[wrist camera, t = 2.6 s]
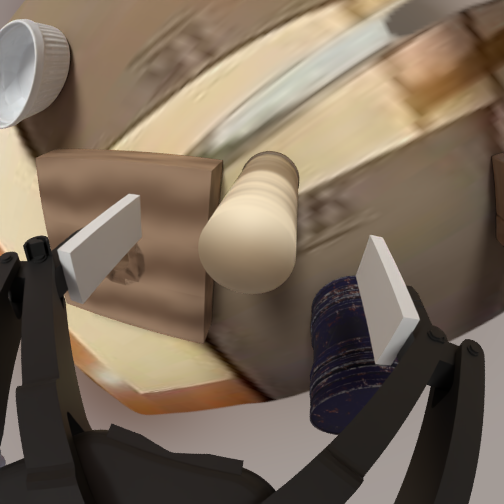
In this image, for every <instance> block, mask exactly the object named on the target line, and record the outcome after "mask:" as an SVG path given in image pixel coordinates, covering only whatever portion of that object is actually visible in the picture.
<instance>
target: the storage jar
mask: <svg viewBox="0 0 504 504" xmlns="http://www.w3.org/2000/svg"><path fill="white" fill-rule="evenodd" d="M311 335H312V336H311V338H312V347H313V350H314V363H313V366H312V370H311V374H310V381H311V382H310V406H311V408H310V421H311V423H312V425H313V426H314V427H316V428H317V429H319V430H321V431H323V432H326V433H330V434H335V435H339V434H340V433H341V432H342V431H343V430H344V429H345V427H346V426H347V425H348V424H349V423H350V422H351V421H352V420H353V419H354V418H355V417H356V415H357V414H358V413H359V412H360V411H361V410H362V409H363V407H364V406H365V405H366V404H367V403H368V402H369V400H370V399H371V398H372V397H373V395H374V394H375V393H376V392H377V391H378V389H379V388H380V387H381V386H382V384H383V383H384V382H385V380H386V379H387V378H388V377H389V375H390V374H391V373H392V371H393V370H394V369H395V367H396V366H397V364H398V359H397V357H396V358H395V360H394V361H393V363H392V364H391V365H379V364H375V360H374V354H373V349H372V344H371V339H370V334H369V330H368V325H367V320H366V316H365V312H364V307H363V303H362V299H361V295H360V291H359V287H358V283H357V279H356V276H346V277H342V278H339V279H336V280H334V281H332V282H330V283H328V284H327V285H325V286H324V287H323V288H322V289H321V290H320V291H319V292H318V293H317V294H316V296H315V298H314V300H313V303H312V319H311Z"/></svg>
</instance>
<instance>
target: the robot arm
mask: <svg viewBox="0 0 504 504" xmlns="http://www.w3.org/2000/svg"><path fill="white" fill-rule="evenodd" d="M141 237H142V230H141V210H140V195H135V194H128V195H126V196H125V197H124V198H122V199H121V200H120V201H118V202H117V203H115V204H114V205H113V206H111V207H110V208H109V209H107V210H106V211H105V212H103V213H102V214H101V215H100V216H98V217H97V218H96V219H94V220H93V221H92V222H91V223H89V224H88V225H87V226H85V227H83V228H81V229H79V230H77V231H75V232H74V233H73V234H71V235H70V236H69V237H68V238H66V239H65V240H64V241H63V242H62V243H60V244H59V245H58V246H57V247H56V248H55V249H53V250H52V251H51V248H50V244H49V239H48V237H46V236H36V237H33V238H31V239H29V240H27V241H26V242H25V244H24V245H23V247H24V251H25V254H26V258H27V261H20V260H19V257H18V254H17V253H16V252H6V253H4V254H2V255H1V256H0V445H1V441H2V436H3V431H4V425H5V417H6V409H7V402H8V395H9V390H10V384H11V379H12V374H13V369H14V364H15V360H16V356H17V352H18V348H19V344H20V340H21V363H22V386H18V387H17V388H16V404H17V414H18V423H19V430H20V437H21V442H22V449H23V454H24V458H23V459H21V460H18V461H16V462H13V463H11V464H8V465H6V466H5V459H4V457H3V456H2V455H1V450H0V504H345V502H346V501H347V500H348V499H349V498H350V497H351V496H352V495H353V494H354V493H355V492H356V490H357V489H358V488H359V487H360V485H361V484H362V482H363V481H364V480H363V477H364V476H365V474H366V473H367V472H368V470H369V469H370V468H371V467H372V466H373V464H374V463H375V462H376V460H377V459H378V458H379V457H380V455H381V454H382V453H383V451H384V450H385V449H386V447H387V446H388V445H389V443H390V442H391V440H392V439H393V438H394V436H395V435H396V433H397V432H398V430H399V429H400V427H401V426H402V424H403V423H404V421H405V420H406V418H407V417H408V415H409V413H410V412H411V410H412V408H413V407H414V405H415V404H416V402H417V400H418V399H419V397H420V395H421V394H422V392H423V390H424V388H425V387H426V385H429V386H431V388H430V393H429V397H428V402H427V406H426V410H425V415H424V419H423V422H422V426H421V430H420V433H419V437H418V440H417V443H416V446H415V450H414V453H413V456H412V459H411V462H410V465H409V467H408V470H407V473H406V476H405V478H404V481H403V483H402V486H401V488H400V491H399V493H398V495H397V498H396V500H395V503H394V504H468V503H469V500H470V496H471V492H472V487H473V483H474V478H475V474H476V468H477V463H478V457H479V450H480V443H481V435H482V426H483V413H484V395H485V360H484V352H483V349H482V348H481V346H480V345H479V344H478V343H477V342H475V341H473V340H470V339H465V340H464V341H463V342H462V343H461V345H460V346H457V345H455V344H452V343H449V342H447V341H448V340H447V337H446V335H445V334H444V332H443V331H442V330H441V329H439V328H438V327H436V326H433V325H432V324H431V321H430V319H429V317H428V314H427V312H426V310H425V308H424V305H423V303H422V302H421V299H420V297H419V295H418V293H417V292H416V291H415V290H414V289H413V287H412V286H406V285H405V283H404V281H403V279H402V276H401V274H400V272H399V270H398V268H397V266H396V264H395V262H394V259H393V257H392V255H391V253H390V251H389V249H388V247H387V245H386V243H385V241H384V239H383V238H382V237H378V236H373V235H370V237H369V240H368V243H367V246H366V249H365V251H364V254H363V257H362V260H361V263H360V265H359V268H358V271H357V274H356V279H357V283H358V287H359V291H360V295H361V299H362V303H363V307H364V312H365V316H366V320H367V325H368V330H369V334H370V339H371V344H372V349H373V354H374V360H375V364H379V365H391V364H392V363H393V361H394V360H395V358H396V357H397V359H398V364H397V366H396V367H395V369H394V370H393V371H392V373H391V374H390V375H389V377H388V378H387V379H386V380H385V382H384V383H383V384H382V386H381V387H380V388H379V389H378V391H377V392H376V393H375V394H374V395H373V397H372V398H371V399H370V400H369V402H368V403H367V404H366V405H365V406H364V407H363V409H362V410H361V411H360V412H359V413H358V414H357V415H356V417H355V418H354V419H353V420H352V421H351V422H350V423H349V424H348V425H347V426H346V427H345V429H344V430H343V431H342V432H341V433H340V434H339V435H338V436H337V437H336V438H335V439H334V440H333V441H332V442H331V443H330V444H329V445H328V446H327V447H326V448H325V449H324V450H323V451H322V452H321V453H319V454H318V455H317V456H316V457H315V458H314V459H313V460H312V461H311V462H310V463H309V464H308V465H307V466H305V467H304V468H303V469H302V470H301V471H300V472H299V473H298V474H297V475H295V476H294V477H293V478H292V479H291V480H289V481H288V482H287V483H286V484H285V485H283V486H282V487H281V488H280V489H278V490H277V491H275V489H274V488H273V487H272V486H271V485H270V484H269V483H268V482H267V481H265V480H264V479H263V478H262V477H260V476H259V475H257V474H255V473H254V472H252V471H250V470H247V469H245V468H243V467H242V466H243V461H242V460H236V459H231V458H226V457H221V456H216V455H211V454H185V453H172V452H169V451H167V450H166V449H164V448H162V447H161V446H159V445H157V444H155V443H154V442H152V441H150V440H149V439H147V438H146V437H144V436H142V435H141V434H138V433H135V432H132V431H130V430H127V429H124V428H122V427H119V426H117V425H114V424H111V426H110V429H109V430H92V429H91V427H90V425H89V423H88V420H87V418H86V414H85V410H84V407H83V403H82V399H81V395H80V391H79V386H78V382H77V377H76V372H75V367H74V361H73V356H72V350H71V343H70V337H69V329H68V321H67V312H66V302H65V298H64V294H65V293H66V292H67V291H68V292H69V295H70V299H71V300H72V301H75V302H78V303H81V304H84V302H85V301H86V300H87V299H88V298H89V296H90V295H91V294H92V293H93V292H94V290H95V289H96V288H97V287H98V286H99V284H100V283H101V282H102V281H103V280H104V279H105V277H106V276H107V275H108V274H109V273H110V272H111V270H112V269H113V268H114V267H115V266H116V265H117V264H118V263H119V261H120V260H121V259H122V258H123V257H124V256H125V255H126V254H127V253H128V251H129V250H130V249H131V248H132V247H133V246H134V245H135V244H136V243H137V242H138V241H139V239H140V238H141ZM8 297H9V298H8Z"/></svg>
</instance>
